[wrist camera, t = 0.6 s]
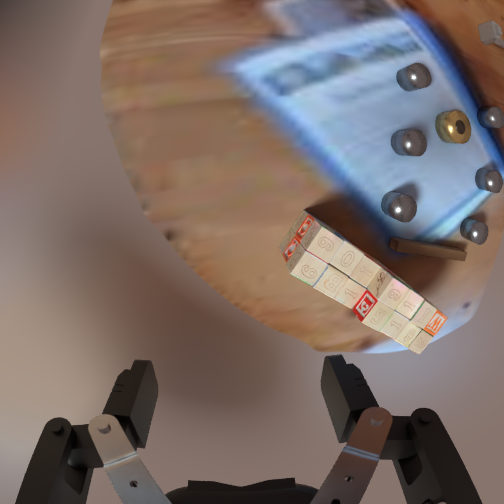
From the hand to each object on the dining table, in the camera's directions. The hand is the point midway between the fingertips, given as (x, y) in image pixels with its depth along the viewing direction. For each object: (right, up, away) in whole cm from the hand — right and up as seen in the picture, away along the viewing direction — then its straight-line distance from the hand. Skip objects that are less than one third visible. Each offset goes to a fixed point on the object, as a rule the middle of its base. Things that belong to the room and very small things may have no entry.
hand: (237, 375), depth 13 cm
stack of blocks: (+15, +4, +29) cm, 33 cm away
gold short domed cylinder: (+31, +25, +23) cm, 45 cm away
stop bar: (+28, +6, +28) cm, 41 cm away
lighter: (+43, +45, +17) cm, 64 cm away
